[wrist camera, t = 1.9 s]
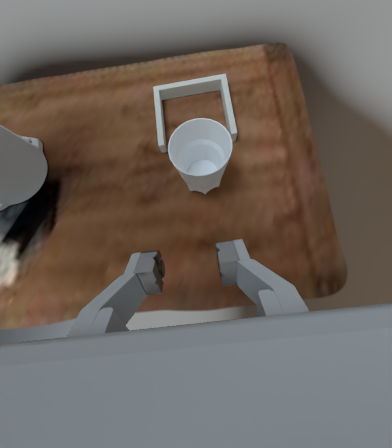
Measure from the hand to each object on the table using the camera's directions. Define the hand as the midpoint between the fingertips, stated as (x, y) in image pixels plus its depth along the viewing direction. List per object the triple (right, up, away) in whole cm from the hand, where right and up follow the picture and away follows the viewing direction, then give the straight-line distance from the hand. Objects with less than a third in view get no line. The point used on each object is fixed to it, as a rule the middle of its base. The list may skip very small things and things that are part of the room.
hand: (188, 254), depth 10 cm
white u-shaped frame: (0, +26, +29) cm, 39 cm away
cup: (+2, +12, +26) cm, 29 cm away
